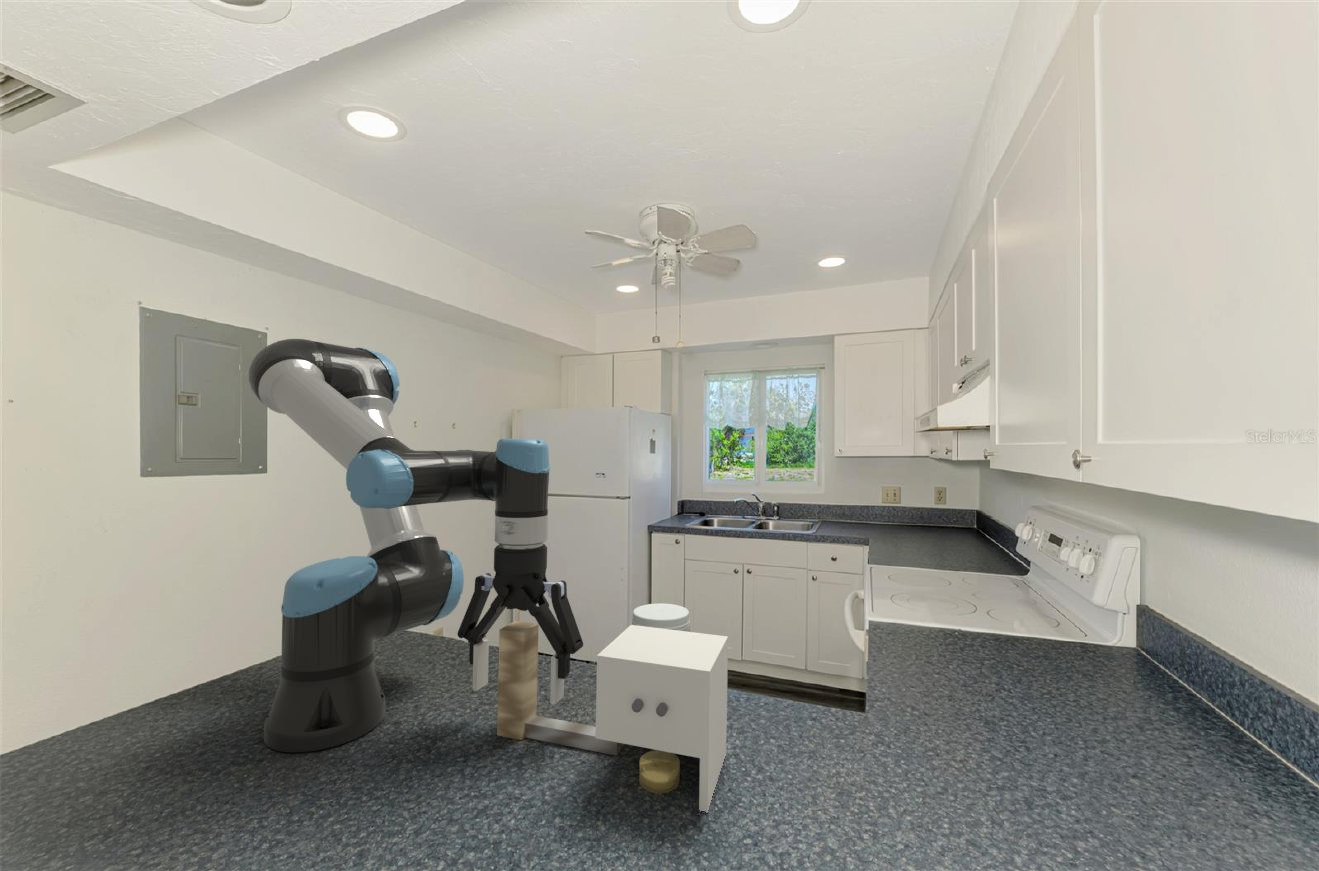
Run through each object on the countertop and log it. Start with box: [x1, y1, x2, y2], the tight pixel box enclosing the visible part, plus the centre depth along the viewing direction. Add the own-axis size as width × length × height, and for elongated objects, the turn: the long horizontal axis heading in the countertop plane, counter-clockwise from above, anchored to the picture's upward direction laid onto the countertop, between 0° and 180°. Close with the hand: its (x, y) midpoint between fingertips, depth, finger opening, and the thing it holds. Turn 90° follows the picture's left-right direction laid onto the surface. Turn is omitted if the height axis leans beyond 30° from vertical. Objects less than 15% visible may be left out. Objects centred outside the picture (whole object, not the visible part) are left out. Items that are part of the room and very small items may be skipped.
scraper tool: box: [496, 620, 624, 756], centre depth 77 cm, size 18×4×15 cm, turn 73°
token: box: [638, 749, 681, 794], centre depth 67 cm, size 5×5×2 cm
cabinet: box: [595, 624, 729, 814], centre depth 69 cm, size 14×13×16 cm
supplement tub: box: [631, 602, 691, 632], centre depth 88 cm, size 10×10×15 cm
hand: (517, 693), depth 79 cm, fingers open, 12 cm apart
